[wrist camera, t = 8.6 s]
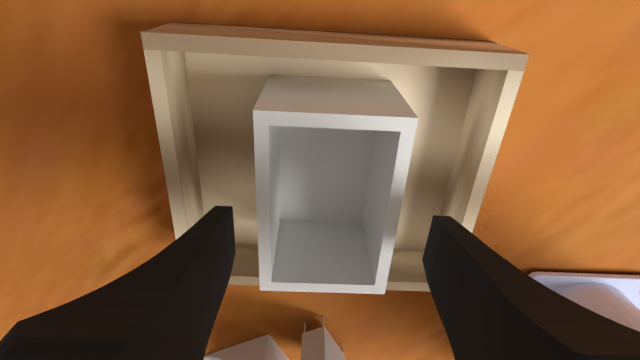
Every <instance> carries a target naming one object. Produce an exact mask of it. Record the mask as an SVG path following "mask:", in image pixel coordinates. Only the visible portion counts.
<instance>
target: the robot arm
mask: <svg viewBox="0 0 640 360" xmlns="http://www.w3.org/2000/svg"><path fill="white" fill-rule="evenodd" d="M235 253H236V249H235V235H234V221H233V206H214V207H213V208H212V209H211V210H210V211H208V212H207V213H206V214H205V215H204V216H203V217H202V218H201V219H200V220H199V221H197V222H196V223H195V224H194V225H193V226H192V227H191V228H190V229H188V230H187V231H186V232H185V233H184V234H183V235H181V236H180V237H179V238H178V239H177V240H175V241H174V242H173V243H171V244H170V245H169V246H167V247H166V248H165V249H164V250H162V251H161V252H160V253H158V254H157V255H155V256H154V257H153V258H151V259H150V260H148V261H147V262H145V263H143V264H142V265H140V266H139V267H137V268H136V269H134V270H132V271H131V272H129V273H127V274H125V275H123V276H121V277H120V278H118V279H116V280H114V281H112V282H110V283H109V284H107V285H105V286H103V287H101V288H99V289H97V290H95V291H93V292H91V293H89V294H86V295H84V296H82V297H80V298H77V299H75V300H73V301H71V302H68V303H66V304H64V305H61V306H59V307H56V308H53V309H51V310H48V311H45V312H43V313H40V314H37V315H35V316H32V317H30V318H27V319H24V320H21V321H18V322H17V323H16V324H15V325H14V326H13V327H12V329H11V330H10V331H9V332H8V333H7V334H6V335H5V336H4V338H3V339H2V340H1V341H0V360H203V359H204V355H205V351H206V347H207V343H208V340H209V337H210V333H211V330H212V327H213V325H214V322H215V319H216V316H217V313H218V311H219V308H220V305H221V302H222V299H223V296H224V294H225V291H226V288H227V285H228V282H229V279H230V276H231V272H232V267H233V262H234V257H235ZM422 260H423V265H424V270H425V274H426V278H427V283H428V286H429V289H430V291H431V294H432V297H433V299H434V302H435V305H436V307H437V310H438V312H439V315H440V318H441V320H442V323H443V325H444V328H445V330H446V333H447V336H448V338H449V341H450V344H451V347H452V350H453V353H454V357H455V360H640V310H639V308H640V275H617V274H590V273H563V272H532V273H530V274H529V275H527V274H525V273H524V272H522V271H521V270H519V269H518V268H516V267H515V266H514V265H512V264H511V263H509V262H508V261H507V260H505V259H504V258H502V257H501V256H500V255H499V254H497V253H496V252H495V251H493V250H492V249H491V248H489V247H488V246H487V245H486V244H484V243H483V242H482V241H481V240H479V239H478V238H477V237H476V236H475V235H473V234H472V233H471V232H470V231H468V230H467V229H466V228H465V227H464V226H462V225H461V224H460V223H459V222H457V221H456V220H455V219H453V218H452V217H451V216H438V215H433V218H432V222H431V226H430V230H429V234H428V238H427V242H426V246H425V250H424V254H423V258H422Z"/></svg>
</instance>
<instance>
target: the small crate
mask: <svg viewBox="0 0 640 360" xmlns="http://www.w3.org/2000/svg"><path fill="white" fill-rule="evenodd" d="M417 123H418V117H417V115H416V114H415V113H414V111H413V110H412V109H411V107H410V106H409V105H408V103H407V102H406V100H405V99H404V98H403V96H402V95H401V94H400V92H399V91H398V90H397V88H396V87H395V86H394V84H393V83H392V81H389V80H369V79H349V78H329V77H309V76H289V75H270V76H269V78H268V80H267V82H266V84H265V86H264V88H263V90H262V92H261V94H260V96H259V98H258V101H257V103H256V105H255V107H254V109H253V127H254V153H255V179H256V205H257V230H258V256H259V282H260V291H293V292H326V293H359V294H385V290H386V285H387V280H388V275H389V269H390V264H391V259H392V254H393V248H394V243H395V238H396V233H397V227H398V222H399V217H400V212H401V207H402V201H403V196H404V191H405V186H406V180H407V175H408V170H409V165H410V159H411V154H412V149H413V144H414V138H415V133H416V128H417Z"/></svg>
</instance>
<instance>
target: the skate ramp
mask: <svg viewBox="0 0 640 360" xmlns="http://www.w3.org/2000/svg"><path fill="white" fill-rule="evenodd" d="M203 360H289V358H288V357H287V356H286V355H285V354H284V352H283V351H282V350H281V349H280V347H279V346H278V345H277V344H276V343H275V341H274V340H273V339H272V338H271V336H270V335H269V334H267V335H264V336H261V337H258V338H255V339H252V340H249V341H246V342H243V343H240V344H237V345H234V346H231V347H228V348H226V349H223V350H220V351H217V352H214V353H211V354H208V355H205V356H204V359H203ZM301 360H345V355H344V354H343V344H341V350H340V348H339V347H338V345H337V344H336V342H335V341H334V340H333V338H332V337H331V335H330V334H329V332H328V331H327V329H326V328H325V327H324V316H322V327H320V328H317V329H314V330H311V331H308V332H306V322H304V333H302V345H301Z"/></svg>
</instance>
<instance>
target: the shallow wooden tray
mask: <svg viewBox="0 0 640 360" xmlns="http://www.w3.org/2000/svg"><path fill="white" fill-rule="evenodd" d="M141 38H142V44H143V50H144V56H145V62H146V68H147V73H148V79H149V85H150V91H151V97H152V103H153V109H154V115H155V121H156V126H157V132H158V138H159V144H160V150H161V156H162V162H163V168H164V174H165V179H166V185H167V191H168V197H169V203H170V209H171V215H172V221H173V227H174V232H175V238H176V240H177V239H178V238H179V237H180V236H181V235H183V234H184V233H185V232H186V231H187V230H188V229H190V228H191V227H192V226H193V225H194V224H195V223H196V222H197V221H199V220H200V219H201V218H202V217H203V216H204V215H205V214H206V213H207V212H208V211H210V210H211V209H212V208H213V207H214V206H233V221H234V235H235V249H236V253H235V257H234V262H233V267H232V272H231V276H230V279H229V282H228V285H252V286H260V282H259V256H258V230H257V205H256V179H255V153H254V127H253V109H254V107H255V105H256V103H257V101H258V98H259V96H260V94H261V92H262V90H263V88H264V86H265V84H266V82H267V80H268V78H269V76H270V75H289V76H309V77H329V78H349V79H369V80H389V81H392V83H393V84H394V86H395V87H396V88H397V90H398V91H399V92H400V94H401V95H402V96H403V98H404V99H405V100H406V102H407V103H408V105H409V106H410V107H411V109H412V110H413V111H414V113H415V114H416V115H417V117H418V123H417V128H416V133H415V138H414V144H413V149H412V154H411V159H410V165H409V170H408V175H407V180H406V186H405V191H404V196H403V201H402V207H401V212H400V217H399V222H398V227H397V233H396V238H395V243H394V248H393V254H392V259H391V264H390V269H389V275H388V280H387V285H386V290H398V291H427V292H431V291H430V289H429V286H428V283H427V278H426V274H425V270H424V265H423V260H422V258H423V254H424V250H425V246H426V242H427V238H428V234H429V230H430V226H431V222H432V218H433V215H438V216H451V217H452V218H453V219H455V220H456V221H457V222H459V223H460V224H461V225H462V226H464V227H465V228H466V229H467V230H468V231H470V232H471V233H472V232H473V228H474V225H475V222H476V219H477V216H478V213H479V210H480V207H481V204H482V200H483V197H484V194H485V191H486V188H487V185H488V182H489V179H490V176H491V172H492V169H493V166H494V163H495V160H496V157H497V154H498V151H499V148H500V145H501V141H502V138H503V135H504V132H505V129H506V126H507V123H508V120H509V117H510V113H511V110H512V107H513V104H514V101H515V98H516V95H517V92H518V89H519V85H520V82H521V79H522V76H523V73H524V70H525V67H526V64H527V61H528V57H529V54H526V53H524V52H521V51H518V50H515V49H512V48H509V47H507V46H504V45H501V44H498V43H495V42H493V41H477V40H460V39H444V38H427V37H410V36H393V35H376V34H360V33H343V32H326V31H309V30H293V29H276V28H259V27H242V26H226V25H209V24H192V23H175V22H171V23H168V24H165V25H161V26H158V27H155V28H151V29H148V30H145V31H142V32H141Z"/></svg>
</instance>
